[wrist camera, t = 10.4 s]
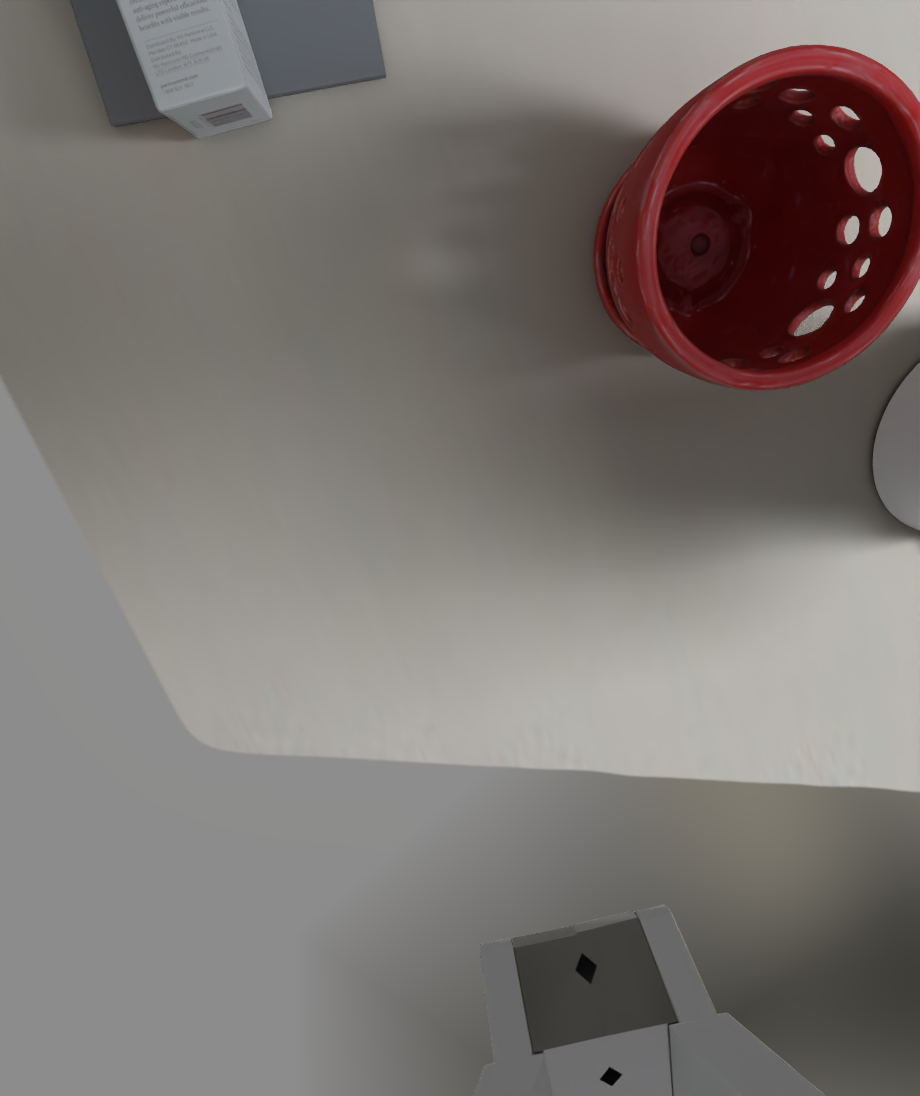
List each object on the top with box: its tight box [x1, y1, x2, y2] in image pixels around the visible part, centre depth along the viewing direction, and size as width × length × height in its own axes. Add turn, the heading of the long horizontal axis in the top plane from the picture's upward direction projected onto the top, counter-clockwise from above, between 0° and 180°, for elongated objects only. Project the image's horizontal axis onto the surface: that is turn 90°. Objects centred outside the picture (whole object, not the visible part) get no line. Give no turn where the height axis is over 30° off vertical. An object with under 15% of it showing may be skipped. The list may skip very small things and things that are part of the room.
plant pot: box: [594, 45, 920, 391], centre depth 32 cm, size 13×13×12 cm
